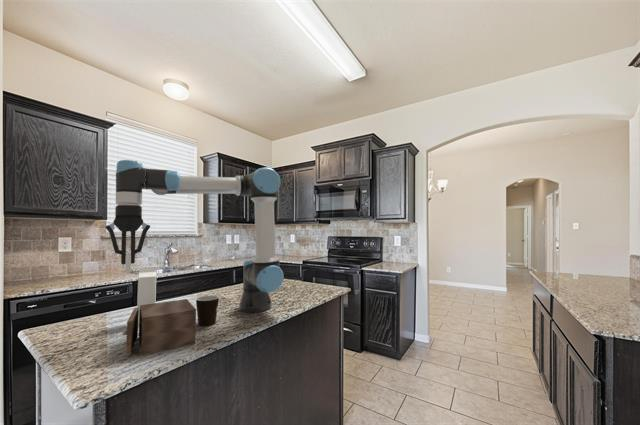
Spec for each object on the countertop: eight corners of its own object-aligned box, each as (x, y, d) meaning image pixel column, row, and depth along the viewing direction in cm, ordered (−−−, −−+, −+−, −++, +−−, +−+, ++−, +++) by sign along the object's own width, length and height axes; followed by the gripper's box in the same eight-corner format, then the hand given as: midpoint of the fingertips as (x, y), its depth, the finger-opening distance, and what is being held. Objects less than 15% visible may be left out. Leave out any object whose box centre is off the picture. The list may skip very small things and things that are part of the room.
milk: (137, 322, 110) (139, 267, 112) (155, 319, 113) (156, 266, 115) (136, 326, 105) (138, 269, 107) (154, 324, 108) (156, 268, 110)
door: (137, 336, 95) (138, 307, 95) (130, 355, 80) (132, 320, 81) (129, 337, 94) (130, 307, 94) (120, 357, 79) (122, 322, 80)
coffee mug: (210, 328, 104) (210, 301, 104) (190, 326, 105) (191, 300, 106) (226, 318, 115) (227, 294, 116) (208, 317, 117) (209, 293, 117)
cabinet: (185, 328, 103) (186, 298, 104) (195, 343, 89) (196, 309, 90) (138, 337, 95) (139, 305, 95) (140, 355, 81) (142, 318, 81)
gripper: (149, 206, 101) (149, 270, 100) (105, 205, 93) (104, 274, 92) (152, 205, 95) (151, 272, 94) (104, 203, 87) (103, 277, 86)
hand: (127, 273), depth 93 cm, fingers closed
